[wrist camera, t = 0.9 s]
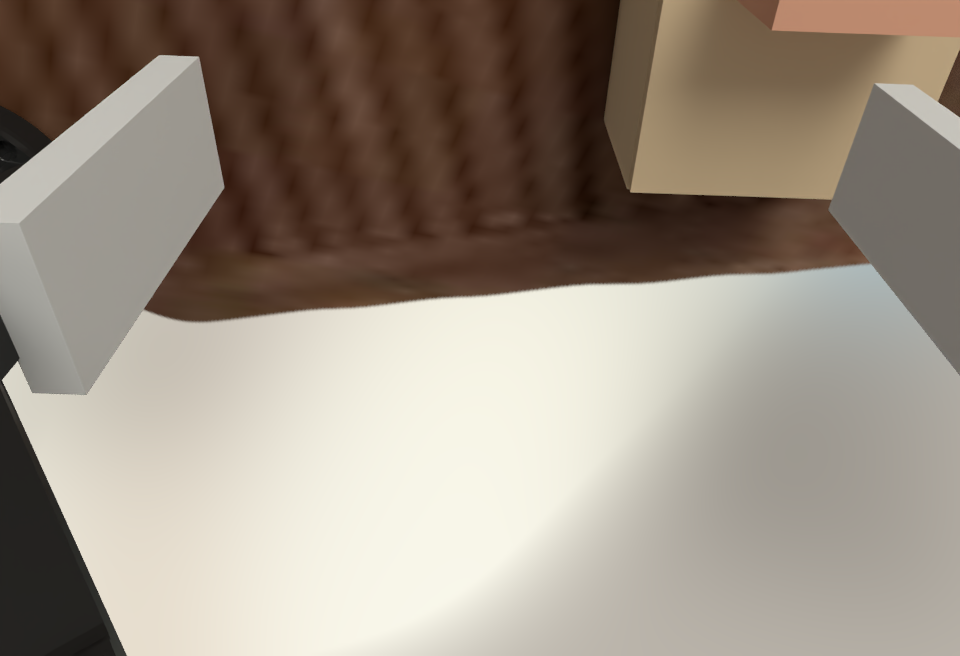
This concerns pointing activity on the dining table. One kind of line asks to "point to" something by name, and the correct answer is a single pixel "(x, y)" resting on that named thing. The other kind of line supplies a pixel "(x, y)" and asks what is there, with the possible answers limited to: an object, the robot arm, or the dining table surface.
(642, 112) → the carton
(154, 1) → the dining table surface
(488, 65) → the dining table surface
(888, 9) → the flap
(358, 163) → the dining table surface
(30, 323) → the robot arm
